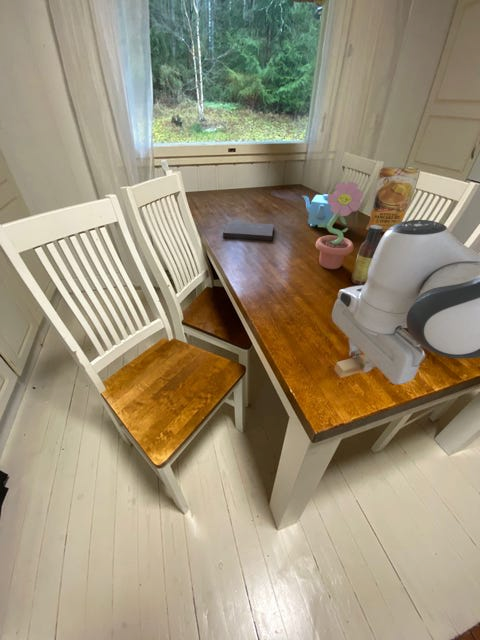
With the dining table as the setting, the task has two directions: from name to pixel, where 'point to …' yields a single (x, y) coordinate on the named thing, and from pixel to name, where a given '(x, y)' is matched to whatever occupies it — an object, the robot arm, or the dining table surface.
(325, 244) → the decorative flower
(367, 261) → the sauce bottle
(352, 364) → the beige rectangular block
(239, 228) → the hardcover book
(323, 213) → the teakettle
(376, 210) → the pancake mix bag
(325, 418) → the dining table surface
